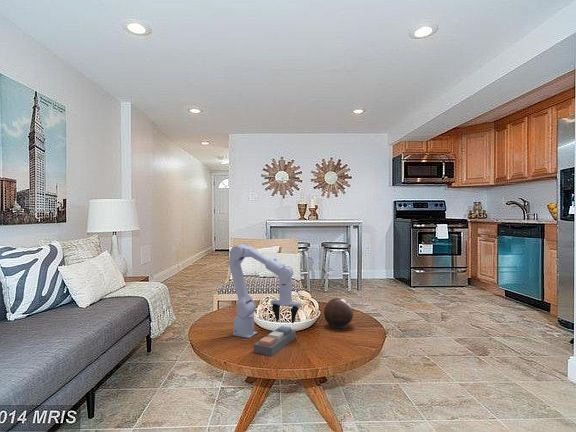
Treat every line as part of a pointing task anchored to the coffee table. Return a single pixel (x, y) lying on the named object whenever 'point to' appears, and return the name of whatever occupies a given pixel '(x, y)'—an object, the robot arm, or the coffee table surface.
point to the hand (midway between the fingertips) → (285, 321)
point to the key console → (275, 344)
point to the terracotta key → (267, 341)
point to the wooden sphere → (338, 313)
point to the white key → (276, 335)
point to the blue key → (284, 329)
